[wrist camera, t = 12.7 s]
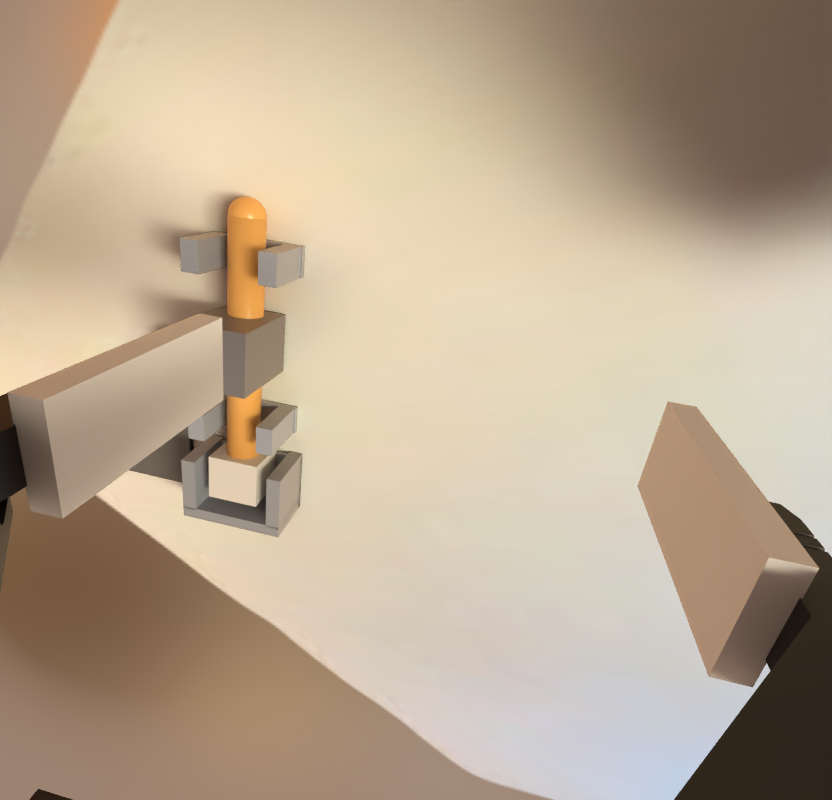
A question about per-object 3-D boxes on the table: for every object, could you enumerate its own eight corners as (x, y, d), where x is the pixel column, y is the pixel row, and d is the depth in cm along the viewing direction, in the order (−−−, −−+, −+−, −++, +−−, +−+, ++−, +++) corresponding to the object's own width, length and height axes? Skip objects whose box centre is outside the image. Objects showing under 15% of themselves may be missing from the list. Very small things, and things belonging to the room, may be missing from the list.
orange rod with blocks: (229, 191, 42) (176, 190, 35) (290, 201, 41) (247, 201, 35) (228, 474, 51) (186, 513, 45) (277, 484, 50) (242, 526, 44)
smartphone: (192, 485, 53) (54, 454, 54) (197, 480, 54) (61, 449, 55) (190, 424, 50) (45, 392, 51) (195, 420, 51) (52, 388, 52)
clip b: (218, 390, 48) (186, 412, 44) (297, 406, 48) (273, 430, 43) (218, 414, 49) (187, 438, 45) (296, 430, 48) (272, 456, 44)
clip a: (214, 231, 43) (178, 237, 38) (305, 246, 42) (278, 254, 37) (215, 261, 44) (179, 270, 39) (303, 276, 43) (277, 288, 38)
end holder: (211, 434, 50) (181, 459, 46) (302, 454, 49) (280, 481, 45) (213, 486, 53) (184, 515, 48) (299, 505, 52) (278, 537, 47)
